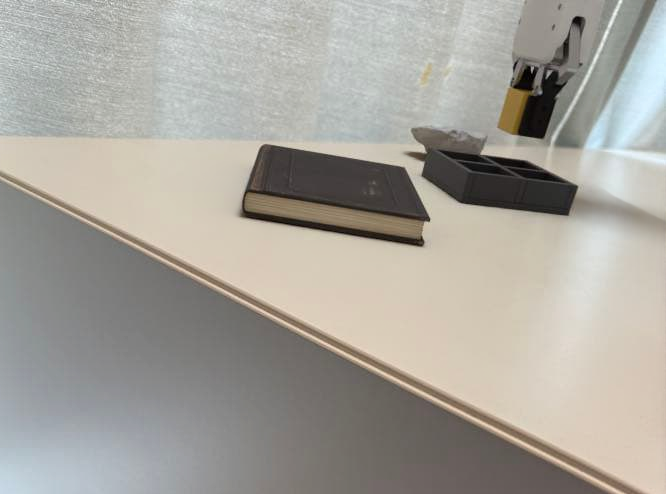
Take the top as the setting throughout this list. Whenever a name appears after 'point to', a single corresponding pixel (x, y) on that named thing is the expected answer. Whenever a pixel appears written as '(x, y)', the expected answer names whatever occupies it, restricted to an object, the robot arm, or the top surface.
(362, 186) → the hardcover book
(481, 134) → the fossil
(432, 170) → the divided tray
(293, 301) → the top surface
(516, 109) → the block
